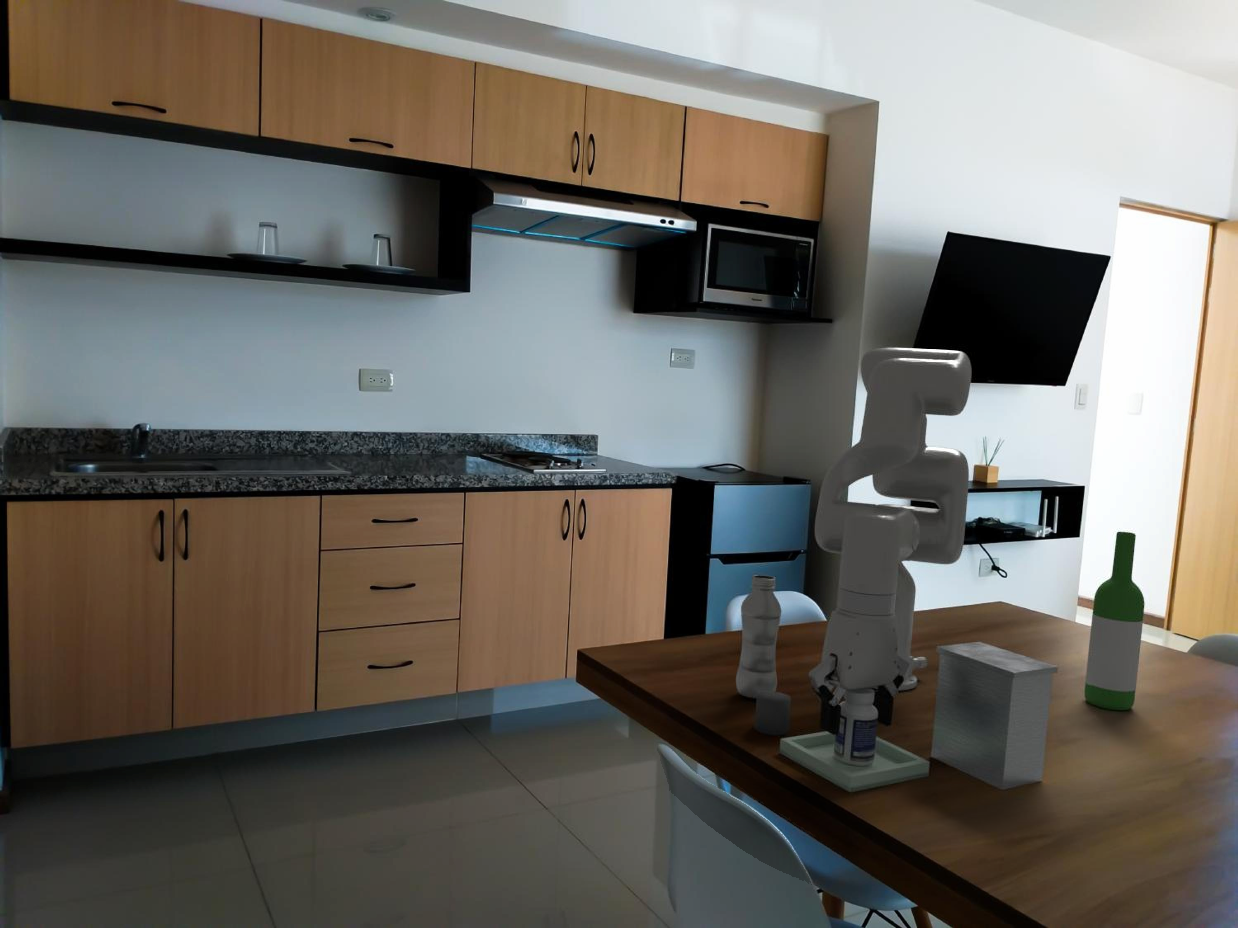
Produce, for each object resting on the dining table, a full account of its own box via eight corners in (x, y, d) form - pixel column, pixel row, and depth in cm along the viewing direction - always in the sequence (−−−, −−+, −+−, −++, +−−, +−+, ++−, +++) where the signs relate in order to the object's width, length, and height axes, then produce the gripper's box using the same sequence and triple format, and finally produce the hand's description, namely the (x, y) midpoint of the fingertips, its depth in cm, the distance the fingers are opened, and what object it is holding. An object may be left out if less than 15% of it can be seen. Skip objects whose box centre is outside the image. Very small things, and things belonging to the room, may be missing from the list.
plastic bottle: (775, 705, 154) (784, 582, 152) (732, 700, 155) (741, 578, 154) (776, 693, 160) (785, 575, 159) (736, 688, 161) (744, 571, 160)
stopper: (773, 721, 146) (776, 689, 146) (795, 732, 142) (798, 699, 142) (747, 725, 144) (750, 693, 143) (768, 737, 140) (771, 703, 139)
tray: (854, 739, 141) (855, 726, 140) (928, 776, 128) (929, 761, 128) (779, 752, 134) (780, 738, 133) (850, 792, 121) (851, 776, 121)
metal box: (969, 747, 140) (979, 641, 139) (1046, 781, 129) (1058, 666, 128) (926, 755, 136) (936, 646, 135) (1002, 791, 125) (1014, 672, 124)
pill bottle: (879, 758, 132) (885, 689, 131) (866, 770, 128) (872, 698, 127) (841, 748, 135) (847, 680, 134) (827, 759, 130) (833, 689, 130)
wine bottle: (1114, 714, 161) (1133, 536, 158) (1073, 699, 167) (1090, 529, 165) (1143, 709, 164) (1162, 536, 162) (1102, 695, 171) (1119, 528, 169)
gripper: (892, 593, 137) (881, 710, 138) (797, 600, 128) (788, 725, 130) (933, 605, 130) (921, 728, 132) (836, 613, 122) (825, 744, 123)
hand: (855, 726), depth 131 cm, fingers open, 9 cm apart
